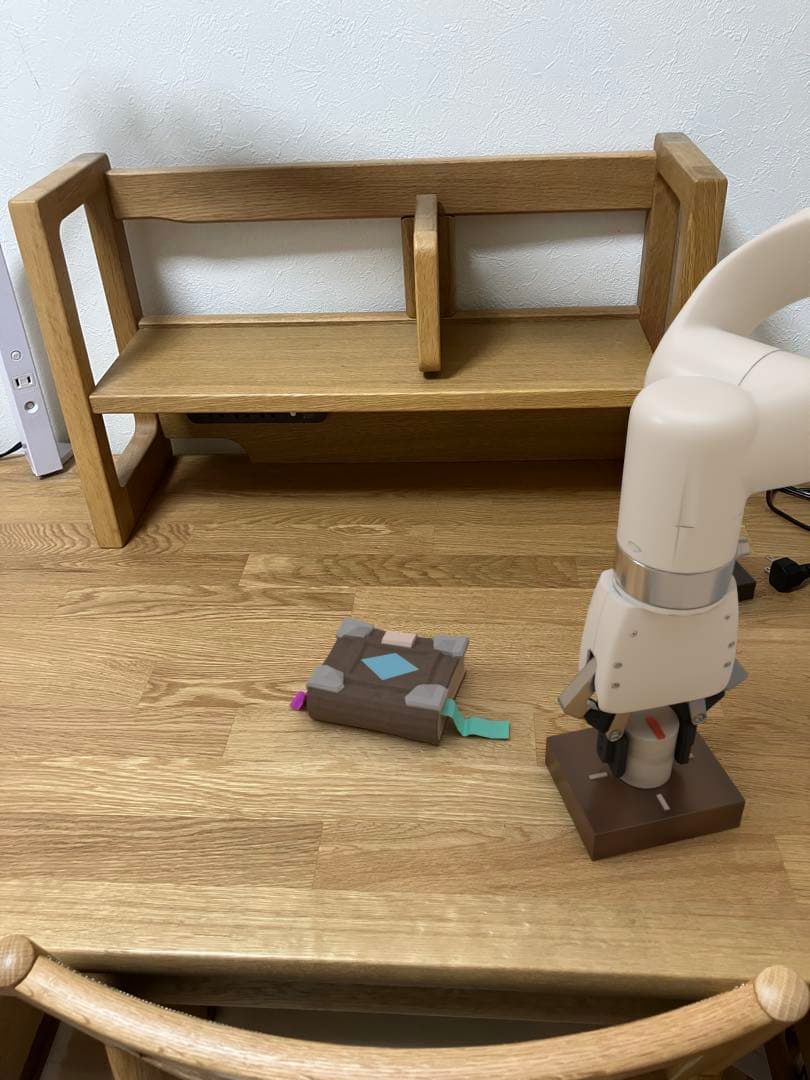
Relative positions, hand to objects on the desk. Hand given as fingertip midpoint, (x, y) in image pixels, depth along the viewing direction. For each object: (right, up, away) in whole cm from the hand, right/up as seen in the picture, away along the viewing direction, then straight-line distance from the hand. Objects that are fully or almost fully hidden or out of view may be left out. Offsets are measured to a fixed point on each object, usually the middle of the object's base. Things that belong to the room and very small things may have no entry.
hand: (643, 755), depth 69 cm
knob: (0, -1, +1) cm, 1 cm away
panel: (0, -4, +2) cm, 4 cm away
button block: (+11, +12, +25) cm, 30 cm away
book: (-18, +2, +13) cm, 22 cm away
